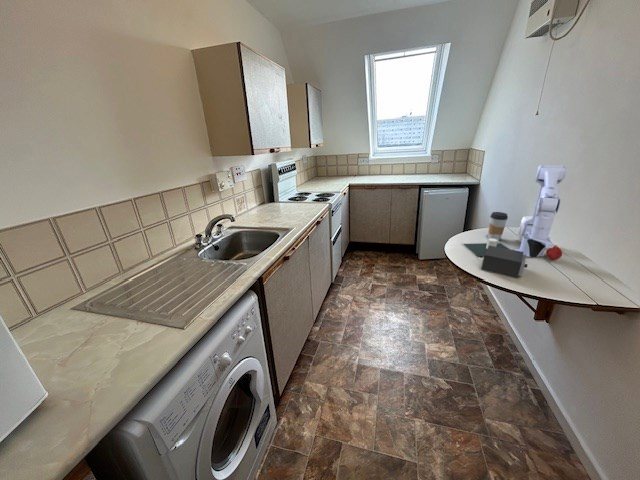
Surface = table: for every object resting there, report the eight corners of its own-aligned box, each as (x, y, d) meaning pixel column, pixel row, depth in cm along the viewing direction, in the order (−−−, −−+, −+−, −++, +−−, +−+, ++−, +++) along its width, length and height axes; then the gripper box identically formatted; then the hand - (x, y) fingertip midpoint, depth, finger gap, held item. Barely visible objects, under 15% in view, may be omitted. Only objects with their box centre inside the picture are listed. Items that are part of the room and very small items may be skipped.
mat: (500, 243, 148) (500, 243, 148) (519, 256, 133) (519, 255, 133) (463, 244, 149) (463, 243, 149) (478, 257, 134) (478, 256, 134)
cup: (538, 245, 144) (546, 220, 139) (524, 246, 144) (530, 221, 138) (526, 239, 152) (532, 215, 147) (512, 240, 152) (518, 216, 146)
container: (496, 248, 141) (498, 239, 140) (494, 250, 139) (496, 242, 137) (487, 246, 145) (489, 237, 143) (484, 248, 142) (486, 240, 140)
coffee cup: (505, 240, 151) (512, 215, 145) (490, 241, 151) (496, 216, 146) (497, 235, 159) (502, 211, 153) (482, 236, 159) (487, 211, 153)
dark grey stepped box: (519, 266, 123) (523, 251, 120) (517, 278, 114) (521, 262, 111) (485, 259, 131) (488, 245, 128) (481, 269, 122) (484, 254, 119)
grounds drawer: (526, 266, 121) (529, 255, 119) (524, 277, 113) (528, 265, 111) (491, 259, 129) (493, 248, 127) (487, 268, 121) (490, 257, 119)
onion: (551, 257, 131) (555, 242, 128) (562, 262, 126) (568, 246, 122) (541, 258, 130) (545, 243, 127) (552, 263, 125) (557, 248, 122)
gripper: (566, 233, 101) (555, 264, 106) (540, 221, 115) (532, 249, 120) (546, 233, 102) (536, 264, 107) (523, 221, 115) (515, 249, 120)
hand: (533, 256), depth 113 cm, fingers closed
